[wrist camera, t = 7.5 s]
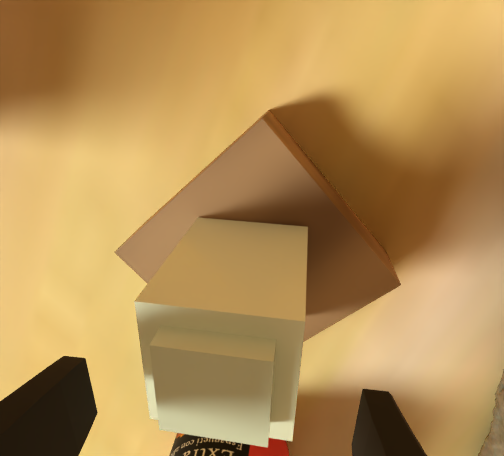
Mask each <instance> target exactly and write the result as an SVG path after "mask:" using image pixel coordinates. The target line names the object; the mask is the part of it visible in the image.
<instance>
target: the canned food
mask: <svg viewBox="0 0 504 456" xmlns="http://www.w3.org/2000/svg"><path fill="white" fill-rule="evenodd" d="M170 456H289V451H288V447H287V443H286V440H280V439H274V438H269V441H268V448H267V447H261V446H255V445H249V444H243V443H237V442H231V441H225V440H219V439H212V438H206V437H200V436H194V435H188V434H182V433H177V436H176V439H175V441H174V444H173V447H172V450H171V453H170Z"/></svg>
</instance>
